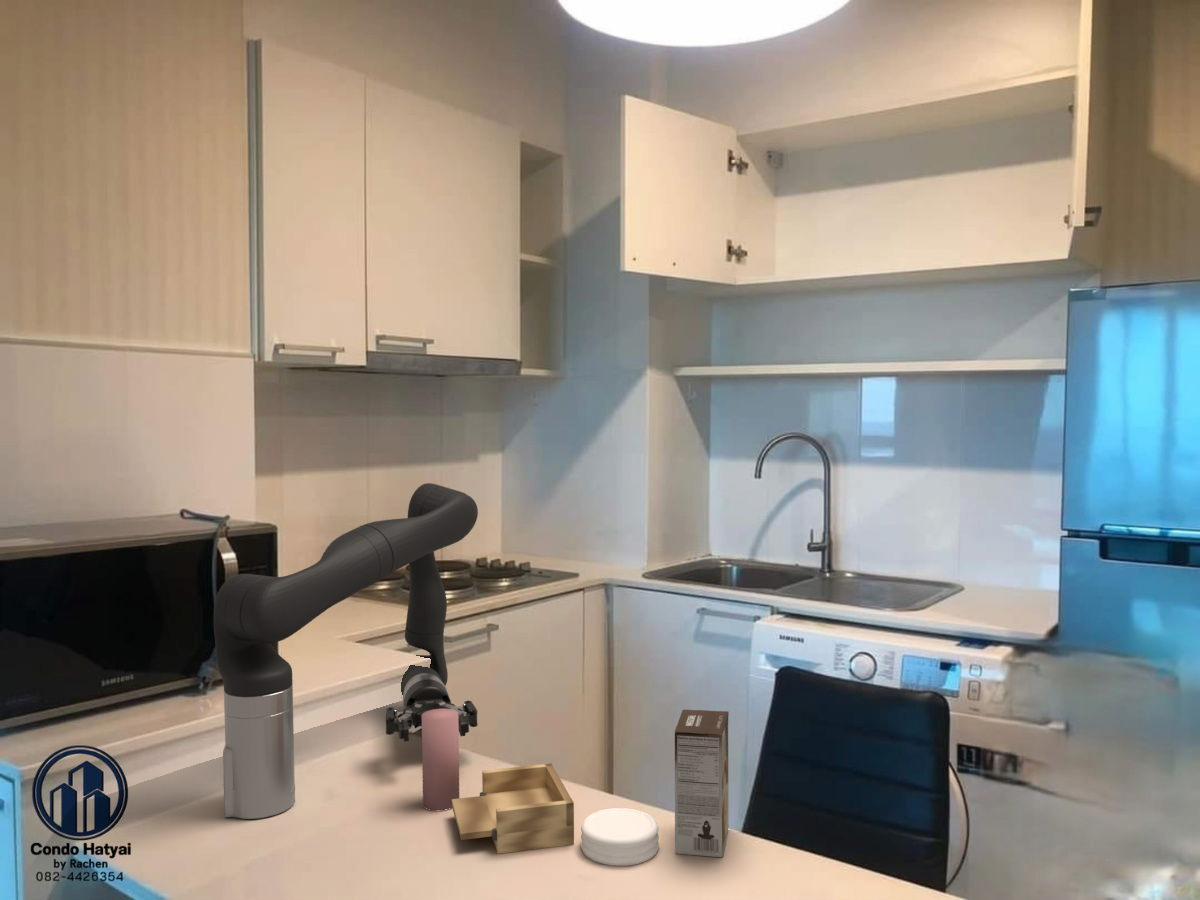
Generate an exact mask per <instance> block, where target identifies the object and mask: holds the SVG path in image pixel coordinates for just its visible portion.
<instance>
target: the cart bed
mask: <svg viewBox="0 0 1200 900" xmlns="http://www.w3.org/2000/svg"><path fill="white" fill-rule="evenodd" d="M481 772H482V773H481V774H482V776H481V778H482V780H481V781H482V783H481V784H482V791H481V792H479V795H477V796H470V797H459V799H452V808H453V809H452V812H453V815H454V819H455V821H456V822H455V823H456V827H457V829H458V834H459V839H460V841H464V840H472V839H480V838H488V837H491V840H492V841H493V844H494V847H495V849H496V853H497V854H498V855H499V854H509V853H516V852H525V851H530V850H532V851H533V850H538V849H539V850H540V849H547V848H554V847H562V846H569V845H575V807H574V806H575V804H574V803H575V802H574V801H573V798H572V797H571V795H570V793H569V791H568V790H567V788H566V786H565V785H564V783H563V781H562V780H561V778H560V776H559V774H558V772H557V771H556V769H555V768H554V765H553V764H552V763H543V764H534V765H532V764H531V765H525V766H514V767H506V768H497V769H496V768H495V769H487V770H482V771H481Z"/></svg>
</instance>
